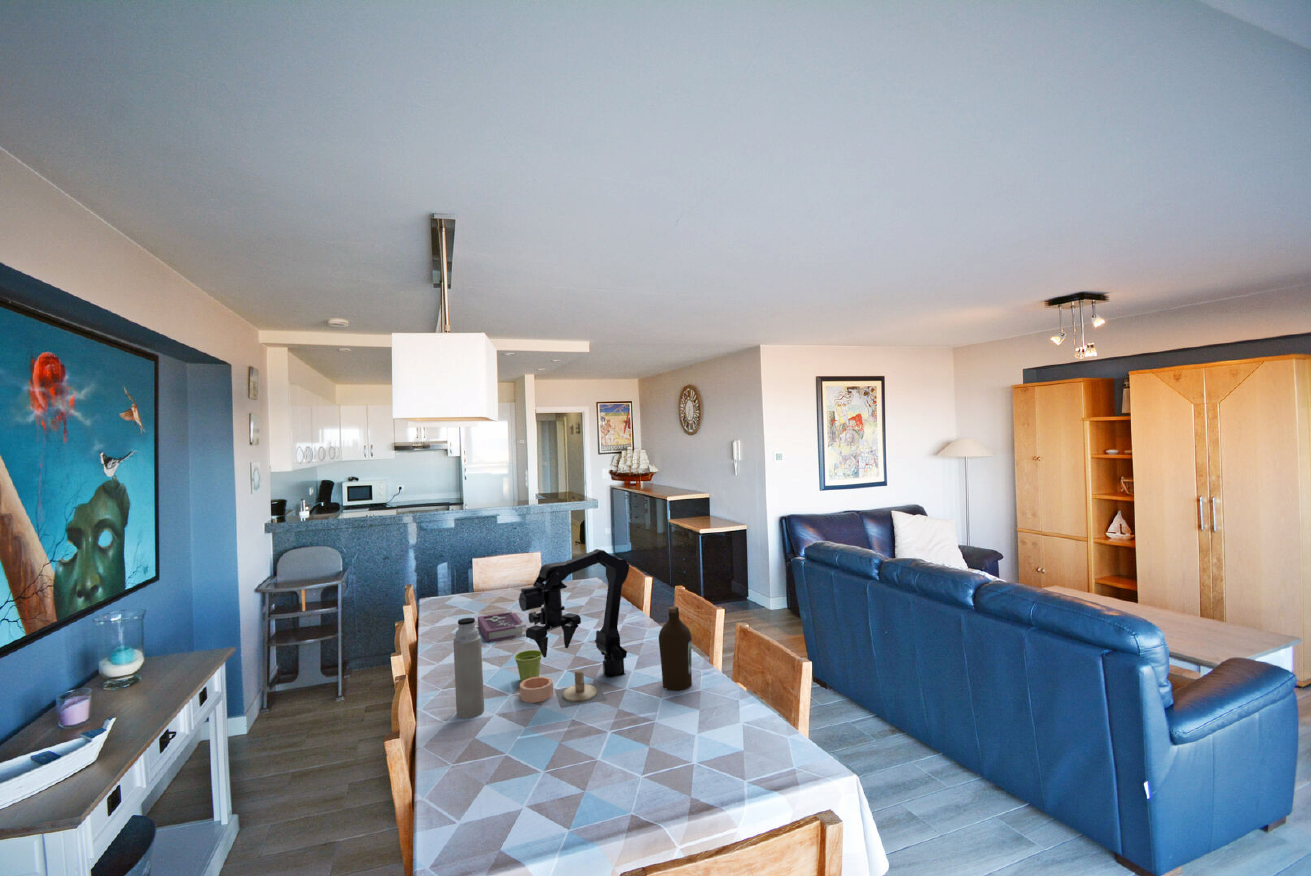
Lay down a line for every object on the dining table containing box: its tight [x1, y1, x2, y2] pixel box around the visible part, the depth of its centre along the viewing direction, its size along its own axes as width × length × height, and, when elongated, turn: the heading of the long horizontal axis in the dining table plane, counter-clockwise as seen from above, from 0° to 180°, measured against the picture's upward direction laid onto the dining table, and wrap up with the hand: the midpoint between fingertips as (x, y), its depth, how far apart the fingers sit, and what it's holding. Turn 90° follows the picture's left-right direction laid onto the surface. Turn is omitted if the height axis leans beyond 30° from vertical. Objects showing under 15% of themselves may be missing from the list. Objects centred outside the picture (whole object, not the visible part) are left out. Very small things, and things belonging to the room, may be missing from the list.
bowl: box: [519, 676, 554, 704], centre depth 186 cm, size 10×10×4 cm
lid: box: [563, 670, 597, 702], centre depth 185 cm, size 10×10×7 cm
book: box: [477, 610, 527, 643], centre depth 258 cm, size 25×16×5 cm, turn 25°
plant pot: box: [513, 649, 543, 682], centre depth 200 cm, size 9×9×9 cm
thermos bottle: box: [453, 617, 485, 719], centre depth 178 cm, size 8×8×28 cm
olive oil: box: [658, 605, 693, 692], centre depth 191 cm, size 11×11×25 cm
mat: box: [554, 682, 608, 709], centre depth 185 cm, size 14×14×1 cm
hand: (555, 652), depth 189 cm, fingers open, 9 cm apart
